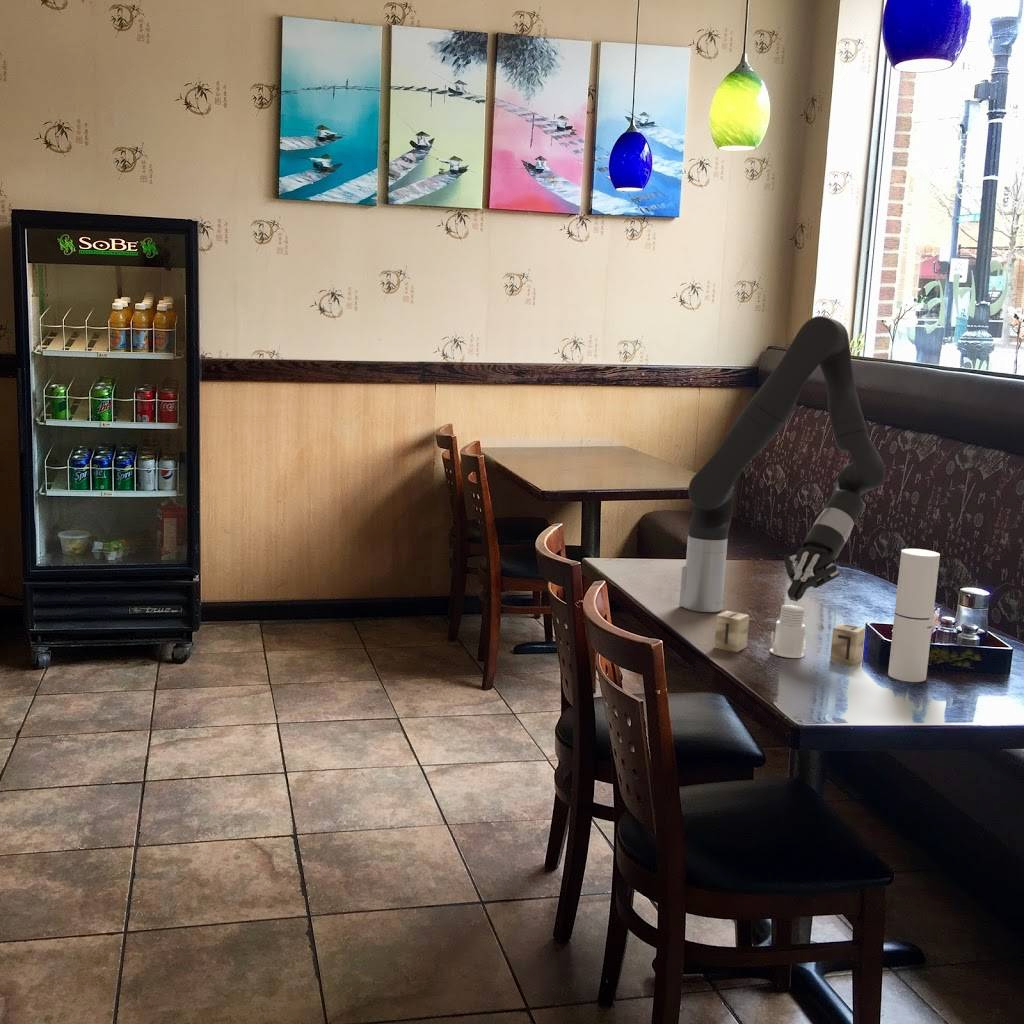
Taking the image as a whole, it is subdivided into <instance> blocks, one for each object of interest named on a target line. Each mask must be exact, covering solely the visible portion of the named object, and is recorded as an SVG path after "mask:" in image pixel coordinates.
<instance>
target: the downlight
mask: <svg viewBox="0 0 1024 1024" xmlns="http://www.w3.org/2000/svg"><path fill="white" fill-rule="evenodd" d="M804 614H805V608H804V607H802V606H799V605H793V604H783V605H781V611H780V617H779V620H776V624H775V630H774V631H775V632H774V631H771V635H770V640H771V647H772V648H769V652H770V653H771V654H773V655H775V656H779V657H782V658H788V659H801V658H804V657H805V653H804V652H803V650H806V648H807V639H806V637H807V636H806V632H805V630H806V625H805V623H803V622H804V616H805V615H804Z"/></svg>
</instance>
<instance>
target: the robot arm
mask: <svg viewBox="0 0 1024 1024" xmlns="http://www.w3.org/2000/svg"><path fill="white" fill-rule="evenodd" d="M851 359H852V357H851V348H850V340H849V333H848V329H847V328H846V327H845V325H844V324H842V323H841V322H840V321H838V320H836V319H834V318H832V317H829V316H826V315H816V316H813V317H811V318H809V319H808V320H807V321H805V322H804V323H803V325H802V326H800V329H799V330H798V332H797V334H796V335H795V337H794V339H793V340H792V341H791V344H790V345H789V348H788V349H787V351H786V352H785V354H784V356H783V357H782V359H781V360H780V362H779V364H777V366H776V367H775V368H774V370H772V372H771V373H770V375H769V376H768V377H767V378H766V380H765V381H764V383H763V384H762V385H761V387H760V388H759V389H758V390H757V392H756V393H755V394H754V396H753V397H752V398H751V399H750V401H749V402H748V404H747V405H746V406H745V407H744V408H743V410H742V411H741V413H740V415H739V416H738V418H737V420H735V422H734V424H733V425H732V427H731V429H730V430H729V431H728V433H727V434H726V436H725V438H724V440H723V441H722V443H721V444H720V446H719V447H718V449H716V451H715V452H714V454H713V455H712V456H711V457H710V459H709V460H708V461H707V462H706V463H705V464H704V465H703V466H702V467H701V468H700V469H699V470H698V471H697V472H696V473H695V474H694V476H692V478H691V480H690V482H689V485H688V497H689V500H690V502H691V503H692V504H693V507H692V514H691V517H690V521H689V524H688V528H687V529H688V531H687V542H686V543H687V544H686V545H687V546H686V558H685V565H684V566H683V567H682V568H681V577H680V580H681V581H680V589H679V603H678V604H679V606H678V607H681V608H684V609H686V610H689V611H691V612H692V611H693V612H700V613H718V612H721V611H722V610H723V603H724V590H725V575H726V566H727V565H726V563H727V551H728V539H729V530H730V526H731V522H732V514H733V505H734V494H735V487H734V484H735V482H736V481H737V479H738V478H739V477H740V475H741V473H742V472H743V471H744V469H745V468H746V467H747V466H748V465H749V464H750V462H752V461H753V460H754V459H755V458H756V457H757V456H758V455H759V454H760V453H761V452H762V451H763V450H764V449H765V448H766V447H768V445H769V444H770V442H772V441H773V439H774V438H775V437H776V436H777V434H778V433H779V432H780V431H781V429H782V428H783V426H784V425H785V424H786V422H787V421H788V420H789V418H790V417H791V415H792V413H793V412H794V409H795V407H796V404H797V402H798V399H799V397H800V394H801V392H802V389H803V387H804V386H805V383H806V382H807V380H808V379H809V377H810V376H811V375H812V374H813V372H814V371H815V370H816V369H817V368H818V366H819V367H820V370H821V372H822V374H823V378H824V382H825V385H826V394H827V409H828V417H829V423H830V426H831V427H830V428H831V430H832V435H833V437H834V440H835V441H834V442H835V444H836V447H837V449H838V451H839V452H841V453H849V454H850V457H852V460H853V462H851V463H849V464H846V465H845V466H844V467H843V468H842V469H841V470H840V472H839V473H838V474H837V477H836V479H835V482H834V485H833V489H832V494H831V497H830V498H829V499H828V502H827V503H826V505H825V507H824V508H823V510H822V512H821V513H820V514H819V515H818V517H817V518H816V519H815V522H814V523H813V525H812V527H811V528H810V530H809V532H808V534H807V535H806V536H805V539H804V541H803V543H802V546H801V547H800V549H798V550H797V551H796V553H795V554H794V555H791V556H789V555H790V554H785V555H783V557H782V558H783V562H784V567H785V570H786V573H787V574H786V575H787V576H788V579H789V580H790V582H791V584H790V586H789V588H788V589H787V591H786V592H787V593H786V594H787V596H788V598H789V600H790V601H794V602H798V601H799V600H801V599H802V598H803V597H804V594H805V593H806V591H807V589H809V588H811V587H813V588H815V589H818V588H820V587H821V586H823V585H825V584H827V583H828V582H831V581H833V580H834V579H836V578H837V577H839V576H840V572H839V569H838V568H837V565H835V564H836V563H835V562H836V560H837V558H838V557H839V555H840V553H841V552H842V549H843V548H844V546H845V544H846V543H847V541H848V540H849V537H850V535H851V534H852V533H851V532H852V530H853V527H854V526H855V524H856V522H857V521H858V519H859V517H860V515H861V513H862V510H863V508H864V504H863V503H864V502H863V500H862V498H861V497H862V496H863V495H864V494H865V493H867V492H869V491H870V492H871V491H873V490H875V489H878V488H880V487H882V485H883V484H884V483H885V481H886V475H887V473H886V472H887V471H886V470H887V469H886V466H885V463H884V461H883V459H882V456H881V455H880V453H879V451H878V449H877V448H876V446H875V444H874V443H873V441H872V440H871V439H870V436H869V432H868V429H867V425H866V421H865V418H864V414H863V412H862V407H861V403H860V400H859V397H858V391H857V388H856V384H855V380H854V379H855V377H854V373H853V368H852V367H853V366H852V360H851ZM796 564H797V567H796ZM795 567H796V571H795V569H794V568H795Z"/></svg>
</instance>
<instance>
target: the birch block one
mask: <svg viewBox="0 0 1024 1024" xmlns="http://www.w3.org/2000/svg"><path fill="white" fill-rule="evenodd" d="M749 621H750V615H749V614H745V613H741V612H735V611H731V610H725V611H724V612H721V613H719V614H716V624H715V635H714V637H715V638H714V648H715V649H721V650H725V651H730V652H734V653H738V652H740V651H742V650H744V649H746V648H747V644H748V635H749V634H748V632H749V624H750V623H749Z"/></svg>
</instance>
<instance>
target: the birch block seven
mask: <svg viewBox="0 0 1024 1024" xmlns="http://www.w3.org/2000/svg"><path fill="white" fill-rule="evenodd" d="M865 633H866V627H863V626H860V625H859V626H858V625H855V624H849V623H842V622H841V623H839V624H837V625H835V626H834V627H832V636H831V637H832V638H831V645H830V656H829V657H830V658H829V661H830V662H834V663H839V664H843V665H847V666H853V667H854V666H856V665H857V664H860V663H861V662H862V661H863V656H864V655H863V654H864V646H865V645H864V643H865V636H866V634H865Z"/></svg>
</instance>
